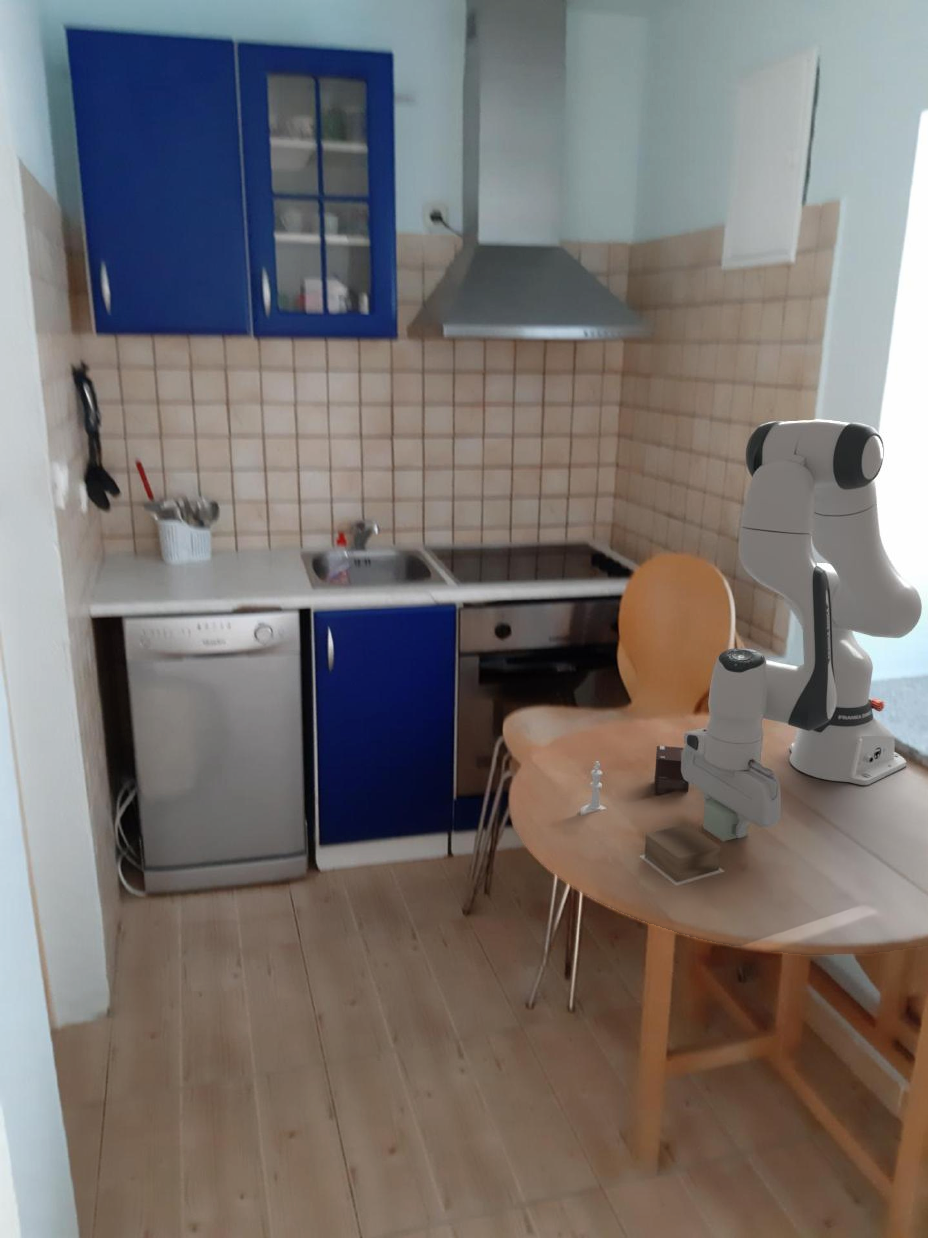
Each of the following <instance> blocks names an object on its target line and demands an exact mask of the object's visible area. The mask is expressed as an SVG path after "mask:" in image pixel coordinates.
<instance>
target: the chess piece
mask: <svg viewBox="0 0 928 1238" xmlns="http://www.w3.org/2000/svg"><path fill="white" fill-rule="evenodd" d="M600 766H601V763H600V761H599V760H598V761H595V762H594V766H593V769H591V771H590V776H591V778H592V781H591V782H590V783H589V787H590V788H592V792H591V797H590V802H589V804H586V805H584V806H582V807H581V808H580V812H579V814H580V816H582V815H585V814H588V813H593V812H599V811H602V810H605V809H607V808H606V807H605V806H603V805H602V804H601V803H600V802H601V801H600V791H599V789H601V788H602V787H603V784H602V783H601V782H600V781H601V779H602V776H603V772H602V771H601V770H600V769H599V767H600Z"/></svg>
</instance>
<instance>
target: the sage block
mask: <svg viewBox="0 0 928 1238" xmlns="http://www.w3.org/2000/svg"><path fill="white" fill-rule="evenodd" d="M703 814H704V815H703V826H702V828H703V829H704V830H705V831H707V832H709V833H710V834H712V835H713V836H715V837H716V838H717V839H719V840H721V841H722V842H727V841H730V840H733V839H737V838H738V837H737V836H735V835H734V834H732V825H733V824H738V823H739V821H740V820H739V819H738V813H736V812H734V811H733V810H731V809H730V808H728V807H727V806H725V805H723V804H722V803H720V802H719V801H717V800H712V801H708V802H705V803H704V813H703ZM748 828H749V826H748V827H747V831H746V835H745V836H747V835H748V830H749V829H748Z"/></svg>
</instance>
